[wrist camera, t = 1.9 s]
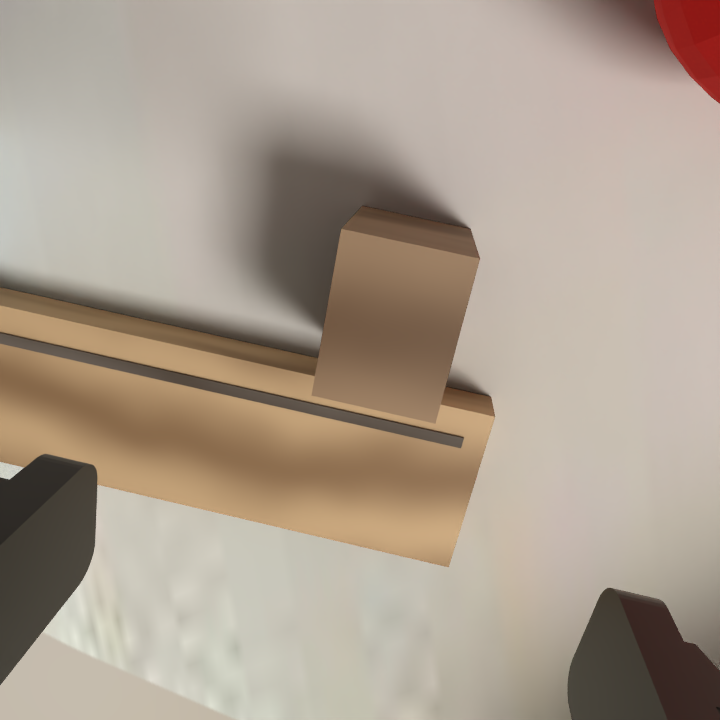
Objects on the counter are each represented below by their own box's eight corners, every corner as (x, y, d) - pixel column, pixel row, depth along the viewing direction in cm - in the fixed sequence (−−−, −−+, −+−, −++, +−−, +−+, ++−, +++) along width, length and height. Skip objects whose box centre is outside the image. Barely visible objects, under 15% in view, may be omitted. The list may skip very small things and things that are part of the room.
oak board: (-62, 273, 28) (-98, 284, 26) (491, 396, 27) (495, 417, 25) (-51, 423, 31) (-83, 443, 29) (447, 540, 30) (448, 568, 28)
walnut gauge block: (362, 205, 25) (341, 228, 19) (470, 228, 25) (479, 258, 19) (337, 340, 27) (311, 395, 22) (435, 362, 27) (435, 423, 22)
